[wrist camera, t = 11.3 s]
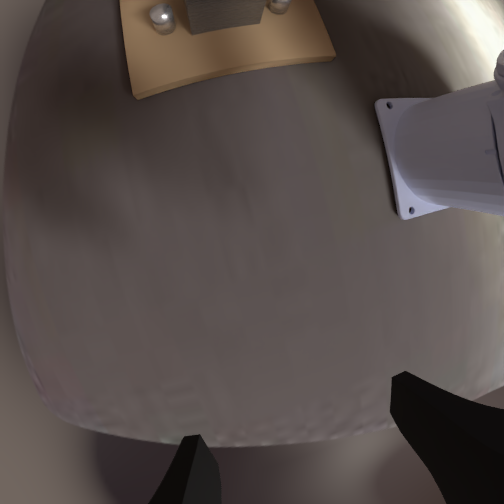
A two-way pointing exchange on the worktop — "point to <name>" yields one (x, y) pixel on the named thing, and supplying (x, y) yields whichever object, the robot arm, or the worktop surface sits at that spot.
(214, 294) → the worktop surface
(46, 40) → the worktop surface
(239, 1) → the plate
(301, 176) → the worktop surface
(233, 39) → the pin tray
